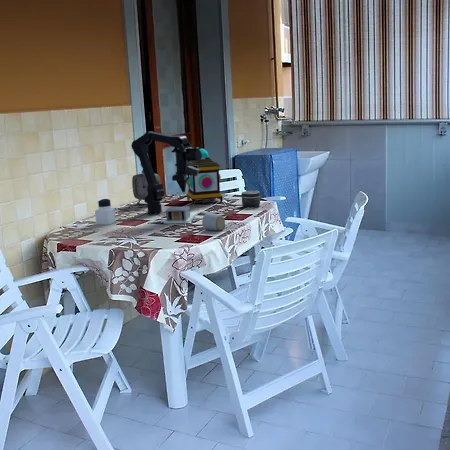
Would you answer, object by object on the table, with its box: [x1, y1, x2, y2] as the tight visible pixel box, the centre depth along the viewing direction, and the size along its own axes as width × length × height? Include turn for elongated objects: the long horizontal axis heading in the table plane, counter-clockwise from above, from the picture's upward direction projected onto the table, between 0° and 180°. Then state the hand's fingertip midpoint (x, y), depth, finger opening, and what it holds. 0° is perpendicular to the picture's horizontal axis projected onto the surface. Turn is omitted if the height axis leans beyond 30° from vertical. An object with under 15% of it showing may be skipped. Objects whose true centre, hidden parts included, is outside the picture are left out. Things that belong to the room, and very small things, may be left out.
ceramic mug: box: [201, 212, 227, 232], centre depth 272 cm, size 11×8×8 cm
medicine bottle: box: [94, 198, 116, 226], centre depth 296 cm, size 7×7×12 cm
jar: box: [240, 190, 261, 209], centre depth 322 cm, size 10×10×8 cm
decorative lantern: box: [186, 148, 224, 206], centre depth 342 cm, size 20×20×30 cm
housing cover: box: [165, 206, 191, 221], centre depth 294 cm, size 10×9×5 cm
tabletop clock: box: [131, 163, 162, 205], centre depth 341 cm, size 14×9×25 cm, turn 58°
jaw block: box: [171, 211, 184, 220], centre depth 294 cm, size 5×5×4 cm
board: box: [163, 211, 199, 225], centre depth 299 cm, size 12×22×4 cm, turn 170°
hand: (183, 192), depth 305 cm, fingers closed
